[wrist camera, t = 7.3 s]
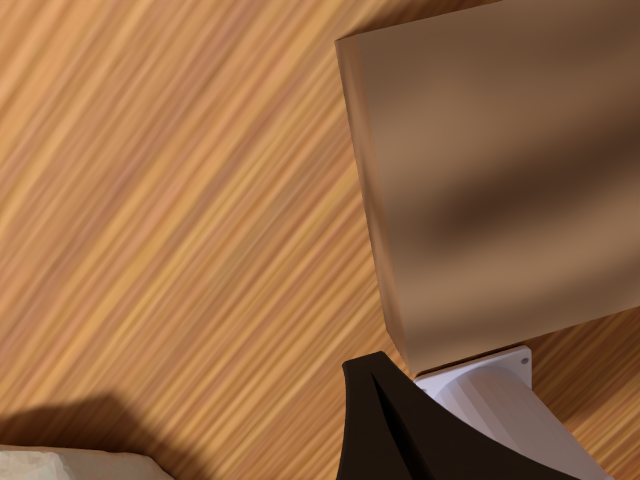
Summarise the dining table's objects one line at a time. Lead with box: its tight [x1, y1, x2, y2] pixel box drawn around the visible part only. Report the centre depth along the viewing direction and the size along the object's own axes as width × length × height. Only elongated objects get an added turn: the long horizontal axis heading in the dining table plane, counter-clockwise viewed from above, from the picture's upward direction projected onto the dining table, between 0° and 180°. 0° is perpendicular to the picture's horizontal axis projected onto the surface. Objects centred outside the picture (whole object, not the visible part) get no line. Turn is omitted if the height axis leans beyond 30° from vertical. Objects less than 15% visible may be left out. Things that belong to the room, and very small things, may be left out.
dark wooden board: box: [335, 0, 640, 374], centre depth 21 cm, size 16×14×4 cm
